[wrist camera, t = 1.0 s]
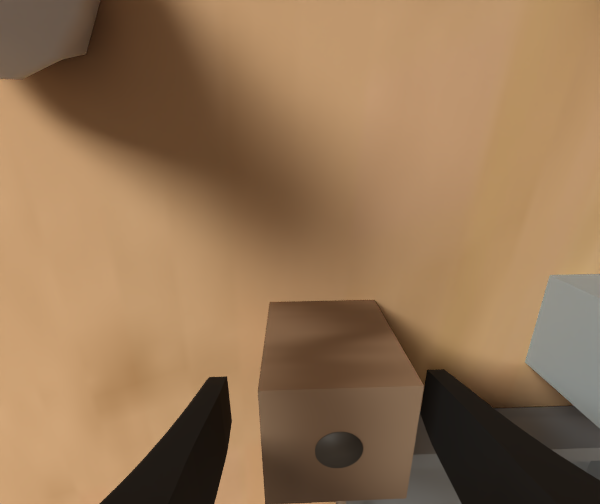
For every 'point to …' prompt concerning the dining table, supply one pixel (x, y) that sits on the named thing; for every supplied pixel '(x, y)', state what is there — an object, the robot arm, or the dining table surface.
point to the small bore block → (335, 404)
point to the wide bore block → (570, 341)
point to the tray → (534, 420)
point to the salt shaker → (42, 33)
